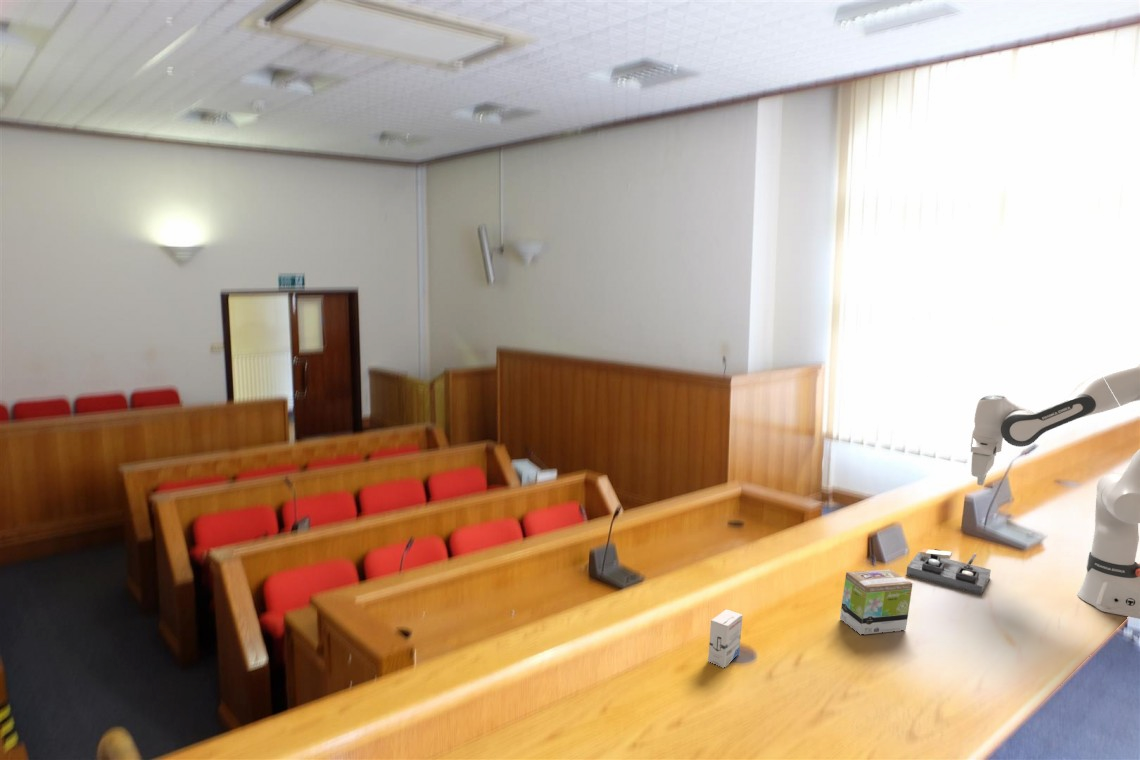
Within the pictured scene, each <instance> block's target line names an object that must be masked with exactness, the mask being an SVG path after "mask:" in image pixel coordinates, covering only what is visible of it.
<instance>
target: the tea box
mask: <svg viewBox="0 0 1140 760" xmlns="http://www.w3.org/2000/svg"><path fill="white" fill-rule="evenodd" d="M912 591H913V582H912V581H909V580H908V579H907V578H905V577H903V576H902V575H900V574H899V573H897V572H896V571H895V570H893V569H892V568H885V569H884V568H883V569H872V570H871V569H870V570H859V571H857V570H856V571H846V573H845V578H844V586H843V593H842V599H841V600H842V601H841V607H840V608H841V609H840V614H839V615H840V616H839V619H840V620H841V621H842V622H843V621H844V622H843V623H844V624H846V625H847V624H848V625H849V626H850V627H849V626H848V625H847V626H848V627H849V628H851V629H852V628H853V629H854V630H855V631H854V630H853V629H852V630H853V631H854V632H856V631H857V632H858V633H859V634H860V635H859V634H858V633H857V632H856V633H857V634H858V635H859V636H862V635H861V634H864V635H871V634H881V633H882V632H883V633H892V632H893V631H895V632H902V631H901V630H905V631H906V630H907V624H908V617H909V612H910V611H909V610H910V604H911V596H912Z"/></svg>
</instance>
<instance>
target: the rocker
mask: <svg viewBox="0 0 1140 760" xmlns="http://www.w3.org/2000/svg"><path fill="white" fill-rule="evenodd" d="M921 549H922V550H921V551H919V552H920V556H925V557H931V554H935V555H938V559H937V560H939V558H946V559H950V560H951V558H952V556H953V552H952V551H947V550H941V551H938V550H939V549H938V550H934V549H928V548H921Z"/></svg>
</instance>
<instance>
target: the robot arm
mask: <svg viewBox="0 0 1140 760" xmlns="http://www.w3.org/2000/svg"><path fill="white" fill-rule="evenodd" d="M979 399H980V400H978V403H977V405H976V409H975V413H974V429H973V431H972V435H971V443H970V452H971V453H972V455H971V476H972V477H975V478H977V481H976V484H977V485H978V486H984V484H985V482H986V478H987V474H988V473H989V471H990V470H991V469H992V467H993V466H994V463H995V457H996V456H997V453H1001V452H1002V447H1003V440H1004V441H1006V442H1007V443H1008V444H1009V445H1011V446H1014V447H1027V446H1030V445H1031V444H1033V443H1035V442H1036V441H1037V440H1038V439H1039V438H1040V437H1041V436H1042V435H1043V434H1045V433H1046V432H1049V431H1050V430H1053V429H1057V428H1058V427H1060V426H1063V425H1065V424H1068V423H1070V422H1073V421H1076V420H1077V419H1081V418H1084V417H1087V416H1088V417H1089V416H1091V415H1096V414H1100V413H1104V412H1107V411H1110V410H1113V409H1117V408H1119V407H1121V406H1124V405H1126V404H1129V403H1133V402H1137V401H1140V363H1132V364H1127V365H1122V366H1119V367H1115V368H1112V369H1109V370H1106V371H1103V372H1101V373H1097V374H1096V375H1094V376H1092V377H1090V378H1088V379H1086V380H1085V381H1082V382H1081V383H1079V384H1078V385H1077V386H1076V388H1074V390H1073V391H1072V393H1071V394H1069V396H1068V397H1066V398H1065V399H1064V400H1062V401H1060V402H1058V403H1055V404H1054V405H1051V406H1048V407H1046V408H1043V409H1042V410H1041V409H1040V410H1039V411H1036V412H1033V411H1032V410H1030V409H1027V408H1024V407H1022V406H1019V405H1017V404H1015V403H1013V402H1011V400H1009V399H1007V397H1006V396H1005V395H995V394H994V395H985V396H983V397H982V398H979ZM1094 512H1095V514H1094V515H1095V519H1094V523H1095V524H1094V531H1093V532H1094V534H1093V538H1092V544H1091V550H1090V551H1089V553H1088V557H1087V561H1086V573H1085V577H1084V578H1083V579H1084V580H1083V582H1082V585H1081V586H1080V589H1079V590H1078V591H1077V596H1078V598H1079V599H1080V600H1082V601H1084V602H1086V603H1088V604H1090V605H1092V606H1093V607H1095V608H1096V609H1097V610H1099V611H1101V612H1105V613H1109V614H1114V615H1117V616H1118V615H1119V616H1125V617H1128V618H1129V617H1130V618H1134V619H1138V620H1140V562H1137V561H1136V557H1137V551H1138V546H1139V542H1140V541H1139V540H1140V535H1139V534H1140V533H1139V524H1140V448H1139V449H1138V450H1137V451H1136V452H1135V453H1134V454H1133V455H1132V456H1131V460H1130V462H1129V464H1128V466H1127V468H1126V470H1124V472H1123V474H1121V473H1116V472H1113V473H1112V472H1111V473H1108V474H1105V475H1103V476H1102V477H1101V478H1100V479H1099V480H1098V482H1097V484H1096V498H1095V511H1094Z"/></svg>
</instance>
